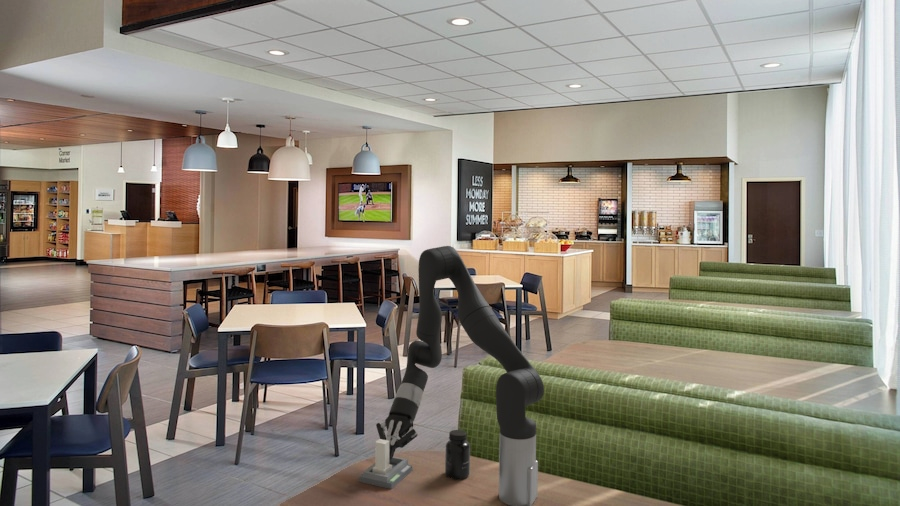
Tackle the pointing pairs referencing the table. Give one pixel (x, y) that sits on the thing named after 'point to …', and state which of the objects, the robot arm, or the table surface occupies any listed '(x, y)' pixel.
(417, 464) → the table surface
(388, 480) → the grey slotted stand
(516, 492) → the robot arm
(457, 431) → the supplement bottle
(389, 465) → the block
